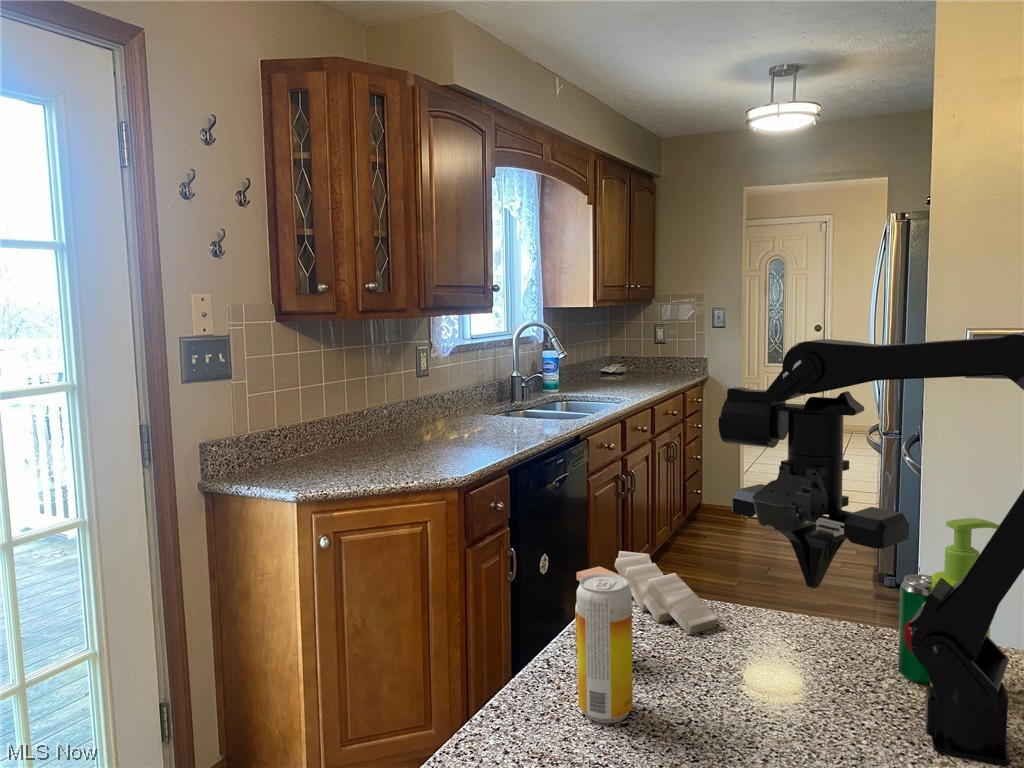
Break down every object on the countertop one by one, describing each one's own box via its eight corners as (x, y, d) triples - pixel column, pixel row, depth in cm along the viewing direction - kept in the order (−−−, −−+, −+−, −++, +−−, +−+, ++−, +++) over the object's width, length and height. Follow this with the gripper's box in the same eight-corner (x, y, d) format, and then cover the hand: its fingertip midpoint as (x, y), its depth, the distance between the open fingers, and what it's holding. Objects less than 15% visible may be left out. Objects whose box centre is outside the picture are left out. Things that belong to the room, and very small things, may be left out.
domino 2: (661, 589, 116) (648, 554, 126) (629, 586, 116) (619, 550, 125) (659, 597, 117) (646, 562, 126) (627, 594, 116) (617, 559, 126)
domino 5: (718, 618, 105) (675, 572, 113) (691, 626, 103) (648, 579, 111) (715, 626, 106) (672, 581, 114) (688, 634, 103) (646, 587, 111)
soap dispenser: (1008, 698, 85) (1015, 526, 83) (951, 703, 84) (957, 529, 82) (970, 673, 91) (976, 512, 89) (917, 678, 90) (922, 515, 88)
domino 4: (689, 608, 109) (654, 562, 117) (660, 614, 107) (626, 567, 115) (686, 616, 109) (652, 570, 117) (657, 622, 108) (624, 575, 116)
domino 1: (639, 583, 120) (599, 566, 128) (615, 590, 117) (576, 572, 126) (639, 592, 120) (599, 575, 128) (615, 599, 117) (576, 581, 126)
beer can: (635, 700, 86) (634, 574, 85) (629, 728, 81) (628, 594, 79) (583, 694, 88) (581, 570, 87) (574, 721, 82) (571, 589, 81)
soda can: (919, 663, 93) (922, 570, 92) (955, 682, 89) (959, 584, 88) (888, 671, 92) (890, 576, 91) (923, 690, 87) (926, 590, 86)
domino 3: (673, 599, 112) (644, 555, 121) (644, 603, 111) (616, 558, 119) (671, 607, 113) (642, 562, 121) (642, 611, 111) (614, 566, 120)
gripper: (701, 449, 87) (701, 580, 88) (854, 476, 71) (851, 633, 73) (761, 438, 93) (760, 560, 95) (913, 460, 78) (909, 605, 79)
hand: (813, 587), depth 85 cm, fingers closed
